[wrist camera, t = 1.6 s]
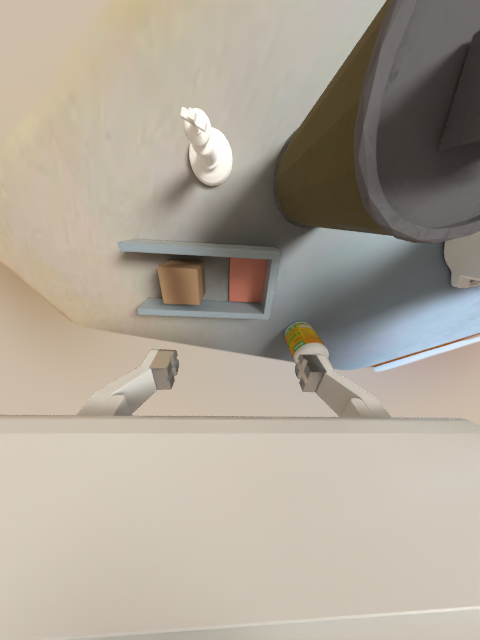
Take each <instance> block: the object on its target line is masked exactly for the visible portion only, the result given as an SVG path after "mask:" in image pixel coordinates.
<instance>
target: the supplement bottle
mask: <svg viewBox="0 0 480 640" xmlns="http://www.w3.org/2000/svg"><path fill="white" fill-rule="evenodd" d="M285 339H286V342H287V344H288V347H289V349H290V352H291V354H292V357H293V359H294V362H295V364H296V363H297V362H299V360H298V357H299V355H300V354H312V355H315V354H318V355H324V357H325V358H326V360H327V361H328V363H329V364H330V366H331V367H332V364H331V363H330V361H329V360H328V358H329V353H328V350H327V348H326V347H325V345H324V344H323V342H322V341H321V340H320V338H319V337H318V335H317V334H316V332H315V331H314V329H313V328H312V327H311V325H310V324H308V323H306V322H296V323H293V324H291V325H290V326H289V327H288V328H287V329H286V331H285ZM332 369H333V367H332Z"/></svg>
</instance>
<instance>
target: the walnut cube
mask: <svg viewBox="0 0 480 640" xmlns="http://www.w3.org/2000/svg"><path fill="white" fill-rule="evenodd" d="M157 271H158V276H159V281H160V286H161V292H162V297H163V302H164V303H166V304H190V305H200V303H201V301H202V298H203V296H204V294H205V278H204V261H197V260H179V259H169V260H168V261H166V262H164V263H163V264H161V265H159V266H158V267H157Z"/></svg>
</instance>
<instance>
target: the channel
mask: <svg viewBox="0 0 480 640" xmlns="http://www.w3.org/2000/svg"><path fill="white" fill-rule="evenodd" d="M118 246H119V249H120V251H127V252H144V253H162V254H180V255H198V256H216V257H230V282H229V301H210V300H202V301H201V303H200V305H190V304H166V303H164V302H163V298H148V299H147V300H146V301H145V302H144V303H143V304H141V305H140V306H139V307H138V308H137V311H138V314H139V315H162V316H187V317H212V318H236V319H261V320H270V314H271V308H272V303H273V297H274V291H275V285H276V279H277V273H278V268H279V262H280V256H281V251H279V250H278V249H277V248H276V247H264V246H247V245H230V244H214V243H197V242H180V241H163V240H146V239H131V240H126V241H121V242H118ZM233 301H234V302H233ZM255 302H257V303H255Z"/></svg>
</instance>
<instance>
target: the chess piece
mask: <svg viewBox="0 0 480 640" xmlns="http://www.w3.org/2000/svg"><path fill="white" fill-rule="evenodd" d="M181 117H182V118H183V119H184V120H185V121H184V129H185V133H186V136H187V138H188V140H189V141H190V142H191V143H190V147H189V159H190V164H191V167H192V170H193V172H194V174H195V175H196V177H197V178H198V179H199V180H200V181H201V182H203V183H204V184H206V185H209V186H217V185H220V184H221V183H223V182H224V181H225V180H226V179H227V177H228V176H229V174H230V171H231V168H232V152H231V148H230V145H229V143H228V141H227V139H226V138H225V136H224V135H223V134H222V133H221V132H220V131H219V130H217V129H215V128H212V127H211V125H210V121H209V119H208V117H207V115H206V114H205V113H204V112H203V111H202V110H200V109H198V108H194V109H191V108H190V107H189V110H187V109H186V108H184V107H183V106H182V111H181Z"/></svg>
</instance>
